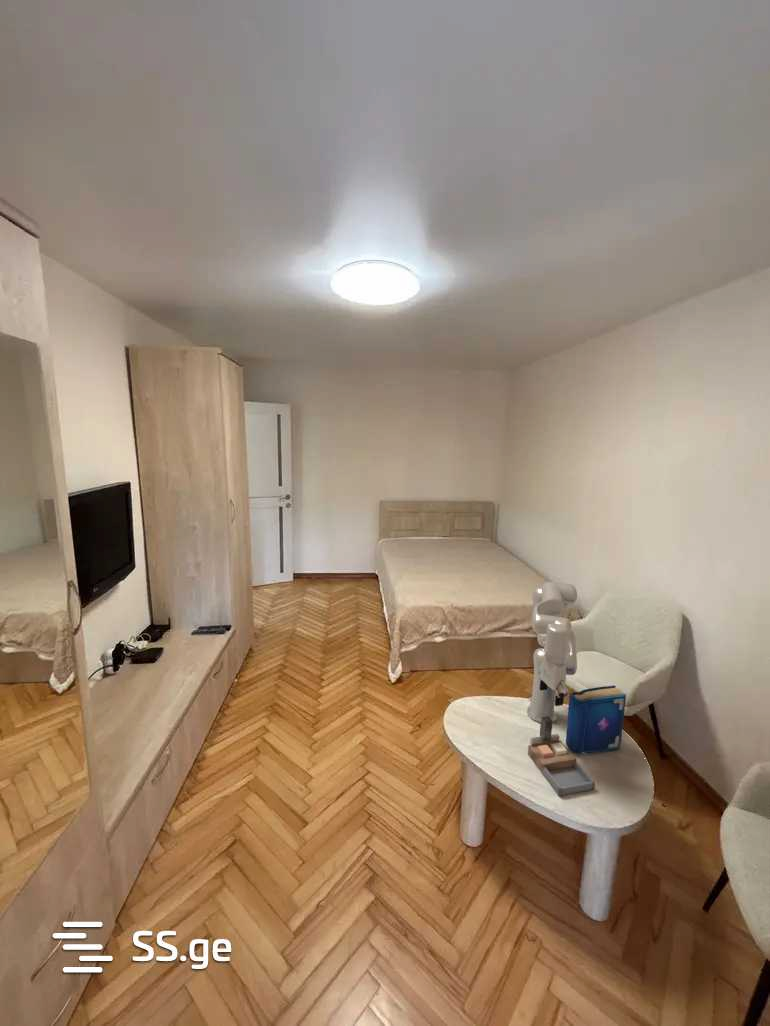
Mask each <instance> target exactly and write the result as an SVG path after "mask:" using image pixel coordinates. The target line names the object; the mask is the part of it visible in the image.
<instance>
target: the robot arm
mask: <svg viewBox="0 0 770 1026" xmlns="http://www.w3.org/2000/svg"><path fill="white" fill-rule="evenodd" d="M577 599H578V592H577V589H576V586H574V585H573V584H571V583H565V582H557V581H548V582H545V583H543V585H542V586H539V587H538V586H537V587H536V588H534V589H533V592H532V604H533V609H532V613H531V626H532V630H533V632H535V633H536V634H537V635H536V636H537V637H536V638H537V643H538V645H539V646H541V647H540V648H537V649H535V650H534V652H533V682H532V694H531V696H530V697H528V700H529V702H530V704H529V706H527V709H526V714H527V716H529V718H530V719H532V720H533V721H534V722H537V723H539V724H541V717H545V716H549V718H550V719H551V720H552V721H553V723H552V724H554V723H555V722H557V720H558V715H557V714H558V713H556V711H555V707H560V706H564V701H565V700H564V699H565V697H567V696H568V694H570V690H569V689H568V687H567V685H566V680H567V676H573V675H576V674H577V672H578V671H577V670H578V660H577V658H578V656H577V639H576V638H577V637H576V634H575V632H574V631H573V630H572V626H573V625H572V623H571V621H570V619H569V618H567V617H563V616H557V615H559V614H561V613H562V612H563V610H564V609H571V608H572V607H573V606H574V604H575V603H576V602H577Z"/></svg>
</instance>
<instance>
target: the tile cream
mask: <svg viewBox="0 0 770 1026" xmlns="http://www.w3.org/2000/svg"><path fill="white" fill-rule="evenodd" d="M551 748H552V749H553V750H554V752H555V753H556V754H557V755H561V754H567V749H566V748H565V747H564V746H563V745H562V744H561V743H555V744H551Z"/></svg>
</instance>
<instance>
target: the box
mask: <svg viewBox="0 0 770 1026" xmlns="http://www.w3.org/2000/svg"><path fill="white" fill-rule="evenodd" d="M542 775H543V777H544V778H545V780H546V781H547V782H548V784H549V785H550V787H552V789H553V791H554V792H555V794H556V795H557V796H558V797H565V796H569V795H575V794H580V793H587V792H590V791H595V786H596V785H595V784H596V782H595V780H593V778H592V777H591V776H590V775H589V774H588V773H587V771H585V769H584V768H583V767H582V766H581V765H580V763H578V762H577V761H575V763H574V767H573V768H568V769H562V770H557V771H551V772H549V771H548V770H547V769H546V767H543V774H542Z"/></svg>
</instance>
